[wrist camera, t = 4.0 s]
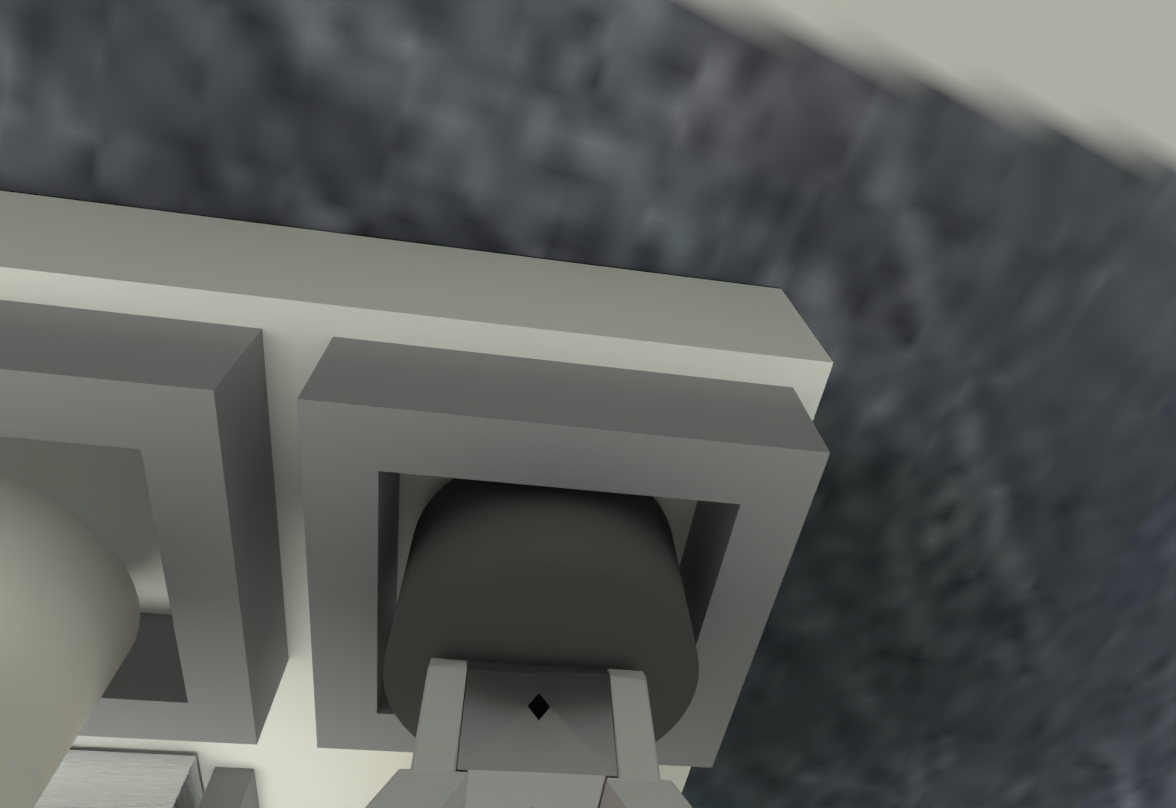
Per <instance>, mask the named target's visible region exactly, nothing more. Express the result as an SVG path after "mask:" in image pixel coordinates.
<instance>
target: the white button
mask: <svg viewBox="0 0 1176 808" xmlns="http://www.w3.org/2000/svg"><path fill="white" fill-rule="evenodd" d="M140 614H141V613H140V605H139V598H138V595H137V592H136V589H135V585H134V583H133V581H132V579H131V577H130V575H129V573H128V571H127V569H126V567H125V566H124V565H123V563H122V562H121V560H120V559H119V557H118V556H117V554H116V553H115V552H114V551H113V550H112V548H111V547H110V546H109V545H108V544H107V543H106V542H105V540H104V539H103V538H102V537H101V536H99V535H98V534H97V533H96V532H95V531H94V530H93V529H92V528H91V527H90V526H89V525H88V524H86V523H85V522H84V521H82V520H81V519H80V518H78V517H77V516H76V515H74V514H73V513H72V512H70V511H69V510H68V509H66V508H64V507H63V506H61V505H60V504H58V503H56V502H55V501H53V500H52V499H50V498H48V497H46V496H44V495H43V494H41V493H39V492H37V491H35V490H33V489H31V488H29V487H27V486H25V485H22V484H20V483H17V482H15V481H13V480H10V479H8V478H5V477H3V476H0V808H34V807H35V805H36V803H37V802H38V800H39V798H40V797H41V795H42V793H43V792H44V790H45V789H46V787H47V785H48V784H49V782H50V780H51V779H52V777H53V775H54V774H55V772H56V771H57V769H58V767H59V766H60V764H61V762H62V761H63V759H64V757H65V756H66V754H67V753H68V751H69V749H70V748H71V746H72V744H73V743H74V741H75V739H76V738H77V736H78V734H79V733H80V731H81V730H82V728H83V726H84V725H85V723H86V721H87V720H88V718H89V716H90V715H91V713H92V712H93V710H94V708H95V707H96V705H97V703H98V702H99V700H100V698H101V697H102V695H103V694H104V692H105V690H106V689H107V687H108V685H109V684H110V682H111V680H112V679H113V677H114V675H115V674H116V672H117V671H118V669H119V667H120V666H121V664H122V662H123V661H124V659H125V657H126V656H127V654H128V653H129V651H130V649H131V647H132V645H133V644H134V642H135V640H136V637H137V634H138V630H139V627H140Z"/></svg>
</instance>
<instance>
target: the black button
mask: <svg viewBox="0 0 1176 808" xmlns="http://www.w3.org/2000/svg"><path fill="white" fill-rule="evenodd" d="M431 658H441V659H455V660H468V663H469V660H471V661H483V662H494V663H506V664H517V665H529V666H537V665H550V666H571V667H593V668H606V670H607V669H617V670H634V671H643V673H644V675H645V676H646V680H647V687H648V694H649V701H650V708H651V715H652V722H653V729H654V736H655V742H657V741H658V740H659V739H661V738H662V737H663V736H664V735H665V734H666V733H668V732H669V731H670V730H671V729H672V728H673V727H674V726H675V724H676V723H677V722H678V721H679V720H680V719H681V718H682V716H683V715H684V713H685V711H686V710H687V708H688V707H689V705H690V703H691V701H692V698H693V696H694V694H695V691H696V687H697V683H698V678H699V661H698V654H697V649H696V644H695V639H694V635H693V630H692V625H691V620H690V616H689V611H688V606H687V602H686V597H685V592H684V588H683V583H682V578H681V573H680V569H679V564H678V559H677V555H676V550H675V545H674V541H673V536H672V531H671V528H670V525H669V522H668V520H667V517H666V515H665V514H664V512H663V510H662V508H661V506H660V505H659V504H658V502H657V501H656V500H655V498H654V497H653V496H645V495H634V494H623V493H612V492H601V491H590V490H580V489H569V488H558V487H547V486H536V485H525V484H514V483H503V482H492V481H481V480H470V479H459V478H454V479H452V480H451V481H450V482H448V483H447V484H446V485H444V486H443V487H442V488H441V489H440V490H439V491H438V492H437V493H436V494H435V495H434V496H433V497H432V499H431V500H430V502H429V503H428V504H427V506H426V507H425V508H424V510H423V512H422V514H421V516H420V518H419V520H418V522H417V525H416V528H415V531H414V535H413V539H412V543H411V547H410V551H409V555H408V560H407V564H406V568H405V572H404V576H403V581H402V585H401V589H400V593H399V597H398V601H397V606H396V610H395V614H394V618H393V622H392V627H391V631H390V635H389V639H388V643H387V648H386V652H385V656H384V663H383V672H382V673H383V685H384V689H385V693H386V696H387V700H388V702H389V704H390V706H391V708H392V710H393V712H394V714H395V715H396V716H397V718H398V719H399V721H400V722H401V723H402V725H403V726H404V727H405V728H406V729H407V730H408V731H409V732H410V733H411V734H412V735H413V736H414V737H415V738H416V734H417V728H418V723H419V717H420V711H421V705H422V699H423V693H424V687H425V681H426V676H427V670H428V666H429V663H430V660H431ZM467 671H468V667H467ZM466 680H467V679H466Z"/></svg>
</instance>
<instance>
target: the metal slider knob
mask: <svg viewBox="0 0 1176 808" xmlns="http://www.w3.org/2000/svg"><path fill="white" fill-rule="evenodd" d="M202 797H203V793H202V787H201V782H200V777H199V772H198V766H197V761H196V756H187V755H166V754H145V753H125V752H104V751H83V750H69V751H68V753H67V754H66V756H65V757H64V759H63V761H62V762H61V764H60V766H59V767H58V769H57V771H56V772H55V774H54V775H53V777H52V779H51V780H50V782H49V784H48V785H47V787H46V789H45V790H44V792H43V793H42V795H41V797H40V798H39V800H38V802H37V803H36V805H35V807H34V808H198V807H199V804H200V802H201V799H202Z"/></svg>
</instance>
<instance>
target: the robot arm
mask: <svg viewBox="0 0 1176 808" xmlns="http://www.w3.org/2000/svg"><path fill="white" fill-rule="evenodd" d="M467 667H468V671H467ZM466 679H467V680H466ZM365 808H693V807H692V806H691V805H690V804H689V802H688V801H687V800H686V799H685V797H684V796H683V795H682V793H681V792H680V791H679V790H678V788H677V787H676V786H675V785H674V783H673V782H672V781H668V780H661V778H660V771H659V764H658V757H657V750H656V743H655V736H654V729H653V722H652V715H651V708H650V701H649V694H648V687H647V680H646V676H645V675H644V673H643V671H634V670H617V669H607V670H606V668H593V667H571V666H550V665H537V666H529V665H517V664H506V663H494V662H483V661H471V660H469V663H468V660H455V659H441V658H431V660H430V663H429V666H428V670H427V676H426V681H425V687H424V693H423V699H422V705H421V711H420V717H419V723H418V728H417V734H416V740H415V746H414V752H413V758H412V764H411V769H399V770H398V771H397V772H396V773H395V774H394V775H393V776H392V778H391V779H390V780H389V781H388V782H387V783H386V784H385V785H384V787H383V788H382V789H381V790H380V791H379V792H378V793H377V795H376V796H375V797H374V798H373V799H372V800H371V801H370V802H369V804H368V805H367V806H366V807H365Z"/></svg>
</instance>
